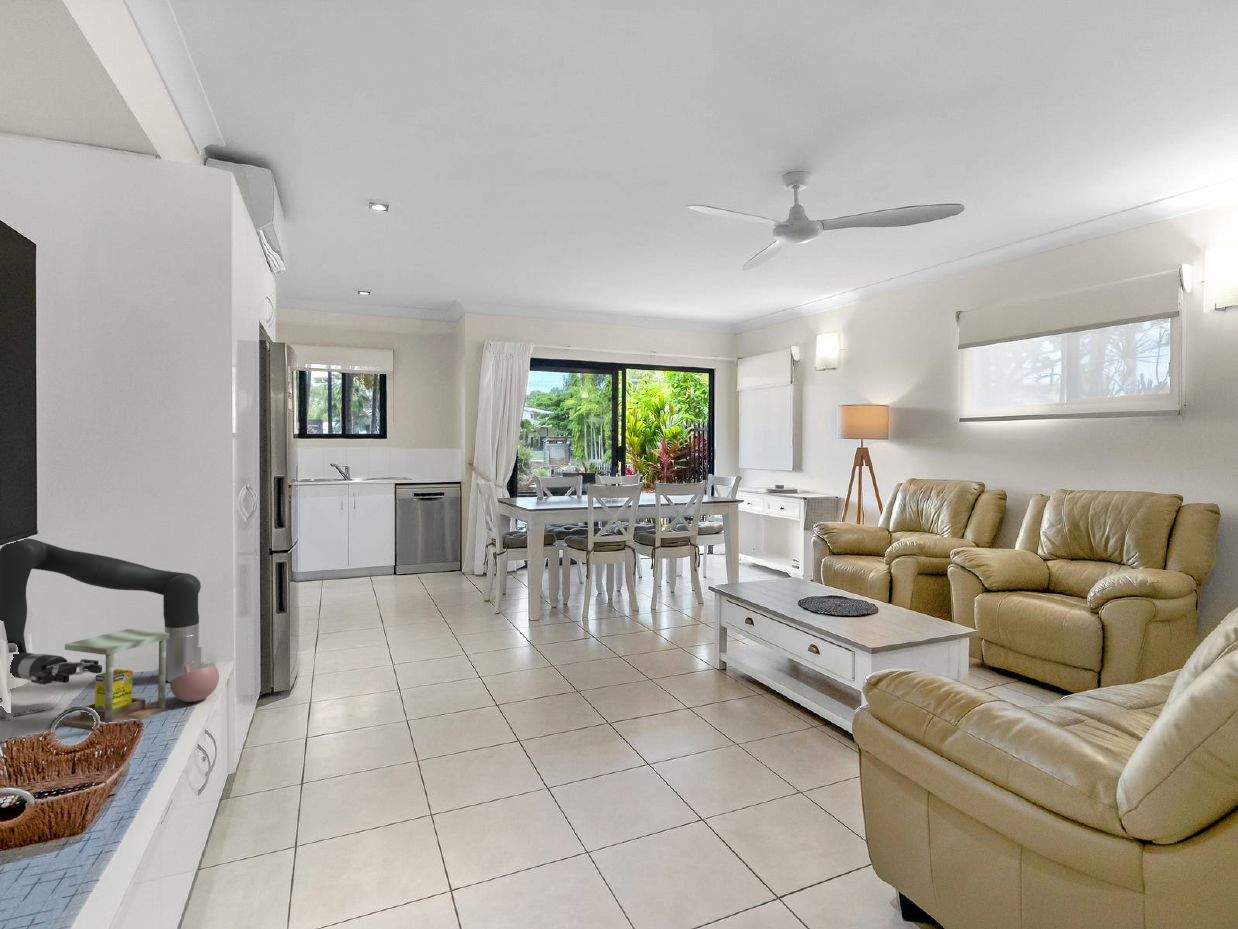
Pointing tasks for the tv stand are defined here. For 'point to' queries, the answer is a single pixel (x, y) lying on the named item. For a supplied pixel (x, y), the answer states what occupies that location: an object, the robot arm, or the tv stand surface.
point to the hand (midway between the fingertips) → (84, 674)
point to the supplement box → (114, 689)
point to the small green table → (108, 647)
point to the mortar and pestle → (195, 683)
